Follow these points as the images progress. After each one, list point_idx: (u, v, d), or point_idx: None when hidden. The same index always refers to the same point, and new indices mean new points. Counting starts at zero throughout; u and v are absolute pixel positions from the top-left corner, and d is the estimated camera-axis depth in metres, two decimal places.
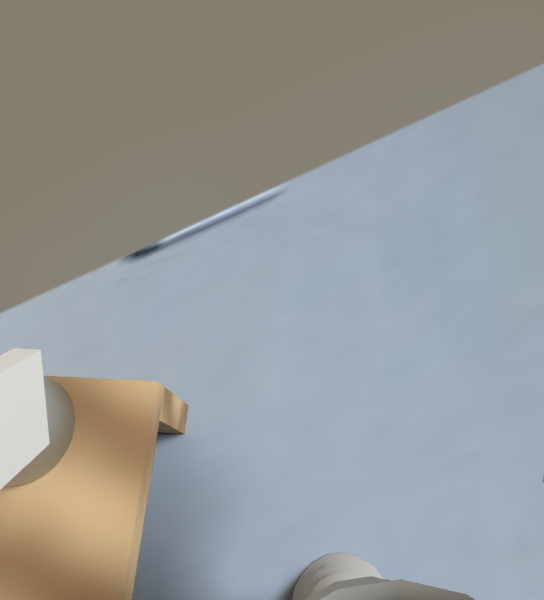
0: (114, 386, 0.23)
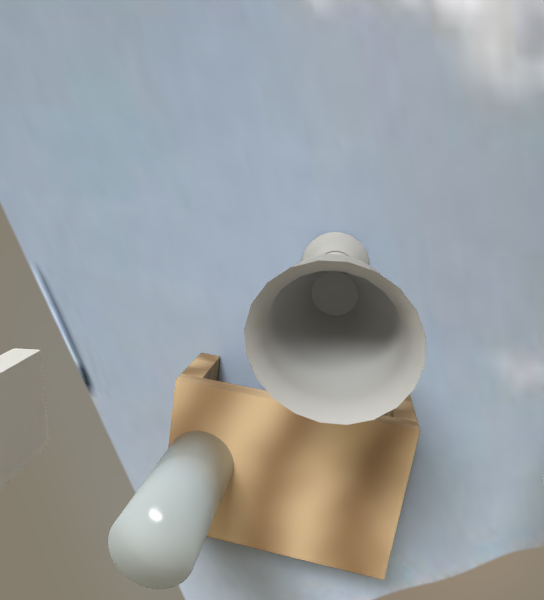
0: (177, 406, 0.35)
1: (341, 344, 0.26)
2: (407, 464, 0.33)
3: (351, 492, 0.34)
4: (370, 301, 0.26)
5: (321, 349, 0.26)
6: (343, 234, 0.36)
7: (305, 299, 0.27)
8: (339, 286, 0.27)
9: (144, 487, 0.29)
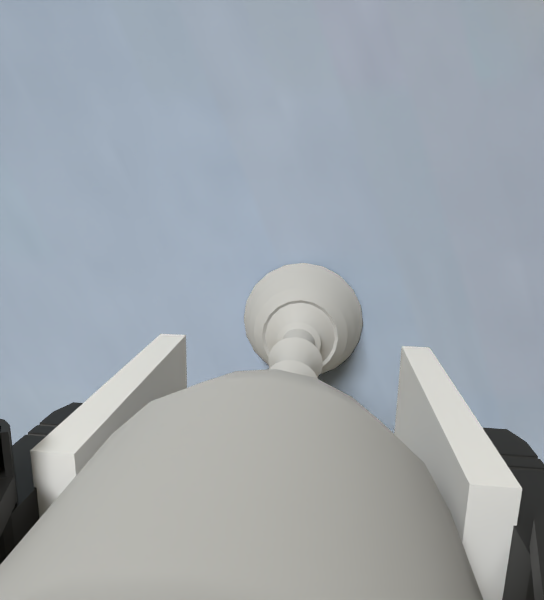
0: None
1: None
2: None
3: None
4: None
5: None
6: (309, 266, 0.20)
7: None
8: None
9: None
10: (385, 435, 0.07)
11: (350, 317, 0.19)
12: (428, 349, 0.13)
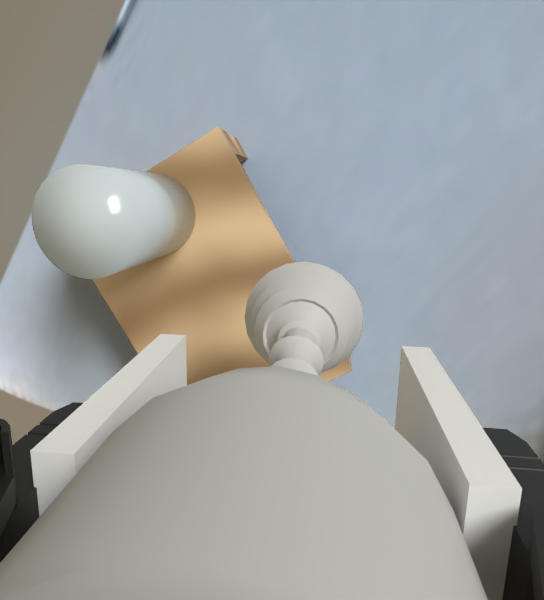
0: (192, 149, 0.29)
1: None
2: None
3: (248, 362, 0.31)
4: None
5: None
6: (309, 264, 0.20)
7: None
8: None
9: (123, 170, 0.23)
10: (388, 432, 0.07)
11: (351, 316, 0.19)
12: (428, 349, 0.13)
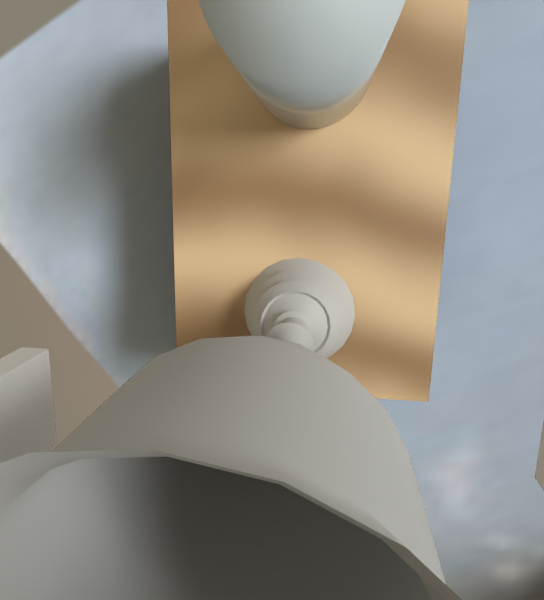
0: (415, 4, 0.19)
1: (293, 520, 0.11)
2: (371, 392, 0.23)
3: None
4: None
5: (247, 545, 0.11)
6: (305, 260, 0.21)
7: None
8: None
9: None
10: (350, 381, 0.08)
11: (342, 308, 0.21)
12: None
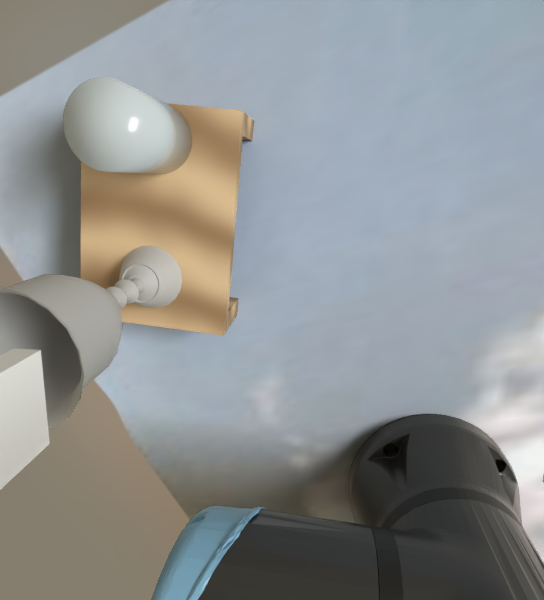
0: (214, 113, 0.35)
1: None
2: (191, 327, 0.39)
3: None
4: None
5: (69, 362, 0.27)
6: (154, 247, 0.37)
7: None
8: None
9: (154, 104, 0.29)
10: (92, 292, 0.24)
11: (170, 276, 0.37)
12: None
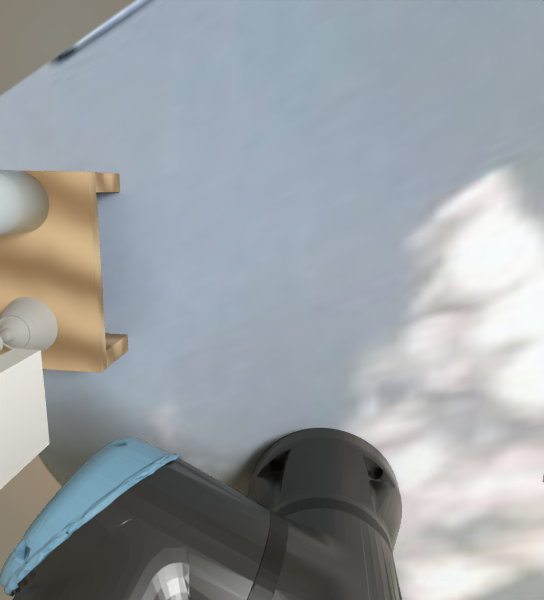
0: (64, 175, 0.39)
1: None
2: (72, 367, 0.43)
3: None
4: None
5: None
6: (28, 298, 0.41)
7: None
8: None
9: None
10: None
11: (42, 323, 0.41)
12: None
